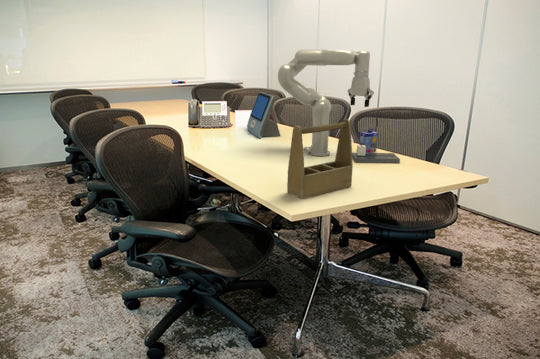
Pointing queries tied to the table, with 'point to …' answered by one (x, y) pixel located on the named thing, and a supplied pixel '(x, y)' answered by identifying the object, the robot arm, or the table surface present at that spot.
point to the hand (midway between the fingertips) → (359, 105)
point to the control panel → (376, 158)
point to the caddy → (322, 175)
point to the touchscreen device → (262, 117)
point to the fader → (361, 150)
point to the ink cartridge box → (369, 140)
